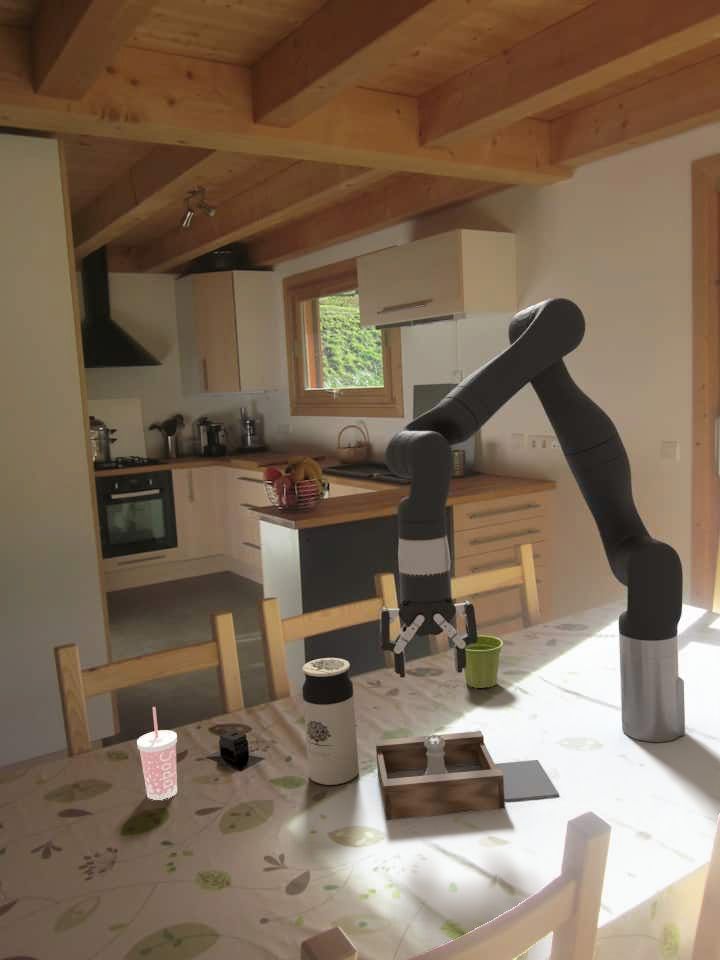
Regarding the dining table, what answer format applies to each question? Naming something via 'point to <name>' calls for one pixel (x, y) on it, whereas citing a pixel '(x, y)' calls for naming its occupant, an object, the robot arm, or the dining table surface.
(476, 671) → the plant pot
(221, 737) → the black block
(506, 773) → the charcoal mat
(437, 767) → the rook chess piece
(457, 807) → the brown wooden box
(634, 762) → the dining table surface
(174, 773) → the beverage cup
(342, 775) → the travel mug
